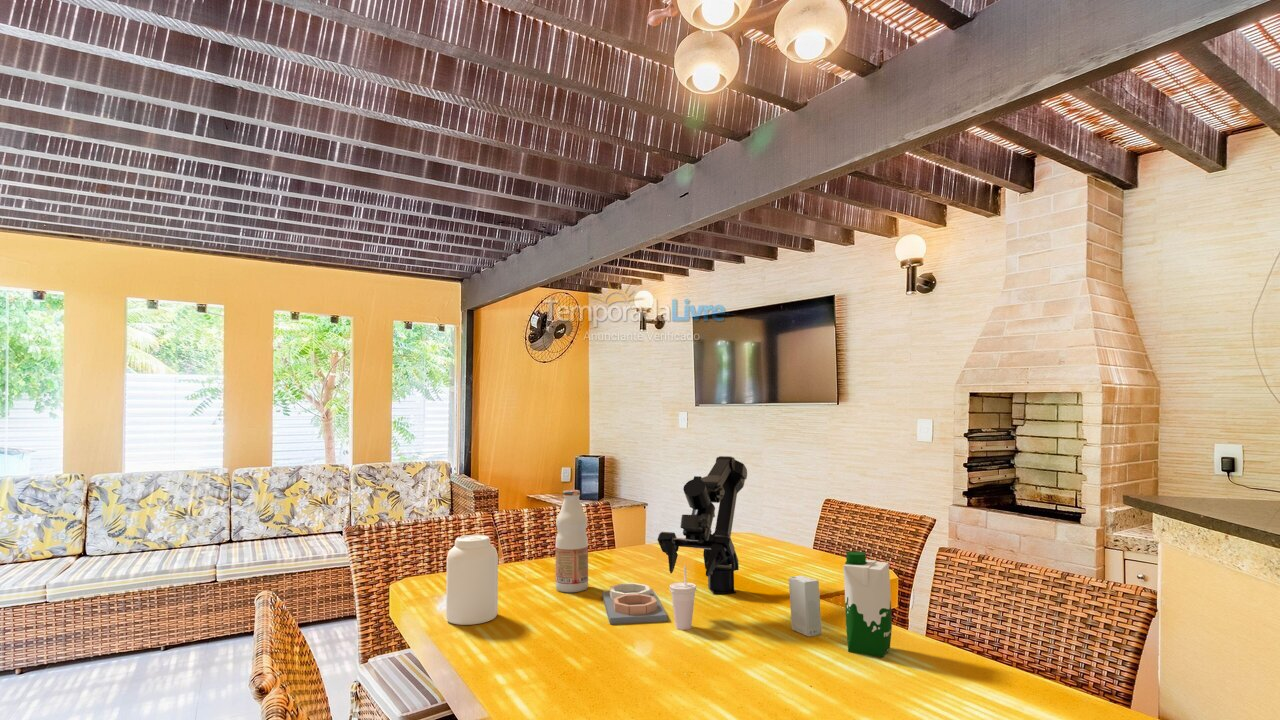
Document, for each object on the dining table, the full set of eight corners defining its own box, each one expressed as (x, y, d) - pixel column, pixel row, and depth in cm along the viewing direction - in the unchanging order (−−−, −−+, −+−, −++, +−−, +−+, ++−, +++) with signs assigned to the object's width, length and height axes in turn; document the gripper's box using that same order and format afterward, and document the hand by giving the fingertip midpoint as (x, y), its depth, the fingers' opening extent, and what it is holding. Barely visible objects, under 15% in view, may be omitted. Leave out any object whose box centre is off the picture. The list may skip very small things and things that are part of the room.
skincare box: (822, 634, 151) (821, 580, 152) (807, 637, 149) (805, 582, 150) (804, 626, 157) (803, 574, 157) (789, 629, 155) (788, 576, 155)
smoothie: (698, 631, 154) (697, 570, 155) (670, 631, 154) (669, 570, 155) (696, 622, 160) (695, 563, 161) (669, 623, 160) (668, 563, 161)
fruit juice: (557, 594, 187) (556, 493, 189) (554, 585, 196) (553, 489, 198) (590, 591, 189) (589, 492, 191) (585, 583, 198) (585, 488, 200)
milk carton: (853, 640, 147) (850, 548, 149) (896, 647, 142) (892, 552, 144) (842, 652, 140) (839, 555, 141) (887, 660, 135) (883, 560, 137)
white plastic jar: (507, 617, 166) (508, 536, 168) (463, 629, 157) (464, 543, 159) (479, 607, 175) (479, 530, 176) (436, 618, 166) (437, 537, 167)
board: (652, 594, 185) (652, 581, 186) (667, 621, 162) (667, 606, 162) (602, 596, 183) (602, 583, 184) (609, 624, 160) (609, 609, 160)
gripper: (659, 500, 172) (644, 551, 161) (730, 503, 165) (718, 557, 154) (670, 526, 178) (656, 577, 167) (738, 530, 171) (728, 584, 160)
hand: (688, 573), depth 162 cm, fingers open, 9 cm apart
